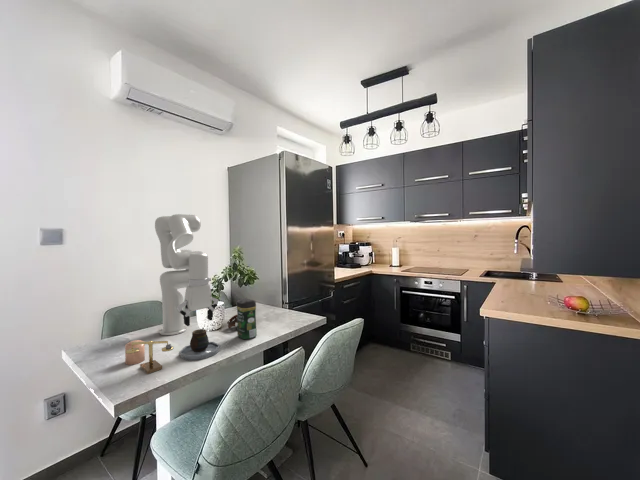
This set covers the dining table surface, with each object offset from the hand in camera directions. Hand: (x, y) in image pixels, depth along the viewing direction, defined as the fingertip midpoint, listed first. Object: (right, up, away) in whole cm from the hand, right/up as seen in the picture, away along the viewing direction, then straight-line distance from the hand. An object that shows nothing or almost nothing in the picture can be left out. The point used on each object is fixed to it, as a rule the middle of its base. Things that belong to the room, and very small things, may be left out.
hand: (198, 322), depth 118 cm
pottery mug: (+8, -13, +32) cm, 35 cm away
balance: (-11, -13, -14) cm, 22 cm away
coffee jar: (+16, -12, +18) cm, 27 cm away
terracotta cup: (-22, -13, -8) cm, 27 cm away
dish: (+1, -13, -1) cm, 13 cm away
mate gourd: (+1, -12, 0) cm, 12 cm away
